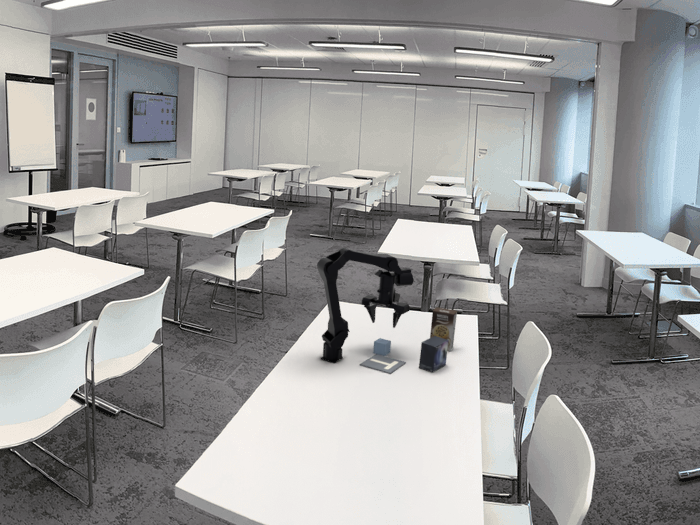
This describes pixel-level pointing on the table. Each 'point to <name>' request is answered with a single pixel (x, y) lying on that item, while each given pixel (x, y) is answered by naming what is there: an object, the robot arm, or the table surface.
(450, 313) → the coffee box
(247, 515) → the table surface
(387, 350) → the blue cube
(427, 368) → the small box
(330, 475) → the table surface
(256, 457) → the table surface
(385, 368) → the letter card
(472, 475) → the table surface
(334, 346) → the robot arm
